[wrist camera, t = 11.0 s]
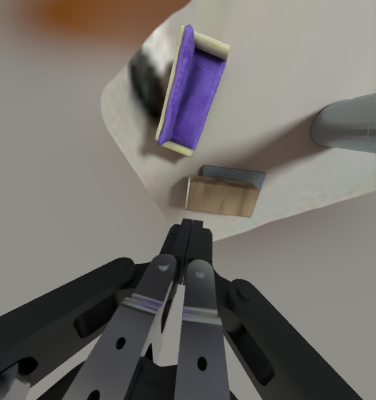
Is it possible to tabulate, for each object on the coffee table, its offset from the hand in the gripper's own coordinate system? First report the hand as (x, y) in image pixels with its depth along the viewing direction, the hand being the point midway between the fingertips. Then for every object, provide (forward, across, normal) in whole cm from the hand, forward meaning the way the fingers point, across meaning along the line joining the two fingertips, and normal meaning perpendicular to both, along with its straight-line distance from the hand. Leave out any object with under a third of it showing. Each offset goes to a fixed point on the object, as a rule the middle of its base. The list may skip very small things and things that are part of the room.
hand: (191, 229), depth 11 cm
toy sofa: (+34, +5, -12) cm, 36 cm away
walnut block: (+28, +4, +9) cm, 30 cm away
